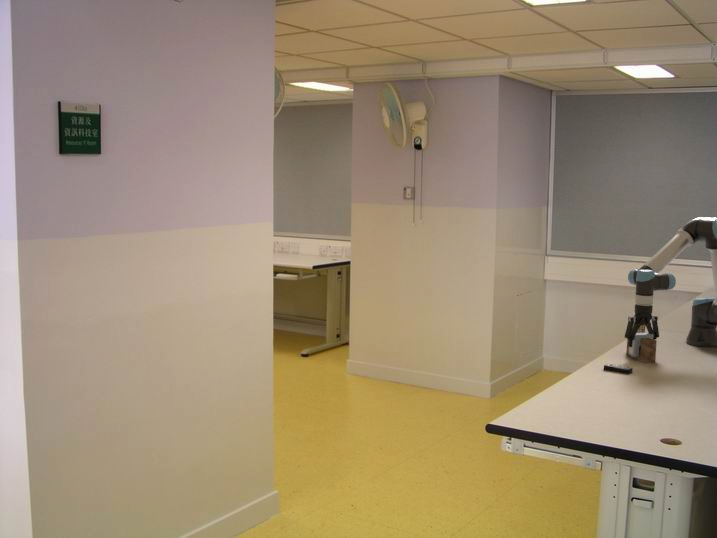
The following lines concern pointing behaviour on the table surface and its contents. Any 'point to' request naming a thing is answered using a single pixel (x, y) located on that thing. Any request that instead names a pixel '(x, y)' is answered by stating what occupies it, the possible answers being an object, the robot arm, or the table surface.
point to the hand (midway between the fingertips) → (640, 353)
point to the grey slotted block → (638, 342)
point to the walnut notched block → (646, 350)
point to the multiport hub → (618, 369)
